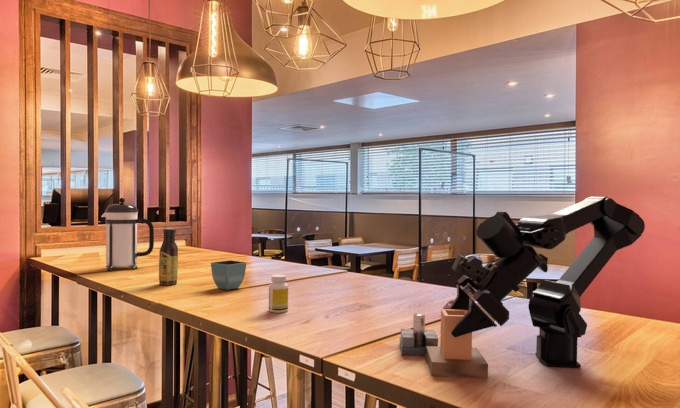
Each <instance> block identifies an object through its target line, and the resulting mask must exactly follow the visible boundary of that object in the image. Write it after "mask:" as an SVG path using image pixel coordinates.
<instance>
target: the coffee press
mask: <svg viewBox="0 0 680 408" xmlns="http://www.w3.org/2000/svg"><path fill="white" fill-rule="evenodd" d="M125 201H126V199H125V198H123V197H120V198H119V200H118V202H119V203H112V204H109V205H107V207H106V209H105V210H104V213H102V215H101V218H105V222H104V223H105V264H106V266H105V267H106V268H107V269H106V270H107V272H113V270H114V269H115V268H125V267H129V268H131V269H132V270H133V271H134V270H138V269H139V268H138V267H139V266H138V265H137V263H138V258H139V257H145V256H148V255H150V254H151V253H152V252H153V249H154V244H155V237H154V236H155V230H154V225H153V223H152V222H151V221H150V220H149V219H146V218H138V213H139V209H138V208H137V206H136V205H134V204H130V203H125ZM139 223H142V224H146V225H147V226H148V230H149V232H148V236H149V237H148V241H149V242H148V245H149V246H148V248H147V250H146V251H142V252H138V224H139Z"/></svg>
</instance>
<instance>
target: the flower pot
mask: <svg viewBox="0 0 680 408" xmlns="http://www.w3.org/2000/svg"><path fill="white" fill-rule="evenodd" d="M210 268H211V275H212V279H213V282H214V284H215V285H216V287H217V288H218V289H222V290H226V291H229V290H234V289H239V288H240V287H241V285H242V284H243V281H244V278H245V275H246V268H247V262H245V261H239V260H232V259H231V260H222V261H221V260H220V261H215V262H213V261H212V262H210Z"/></svg>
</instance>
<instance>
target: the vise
mask: <svg viewBox="0 0 680 408" xmlns="http://www.w3.org/2000/svg"><path fill="white" fill-rule="evenodd" d="M412 317H413V322H412V324H413V328H400V337H399V348H400V353H401V356H419V357H420V356H423V357H424V356H425V357H426V346H439V337H438V335H437V333H436V331H435V329H426V315H425V314H424V313H421V312H419V313H418V312H417V313H413V316H412Z"/></svg>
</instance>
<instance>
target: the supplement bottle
mask: <svg viewBox="0 0 680 408" xmlns="http://www.w3.org/2000/svg"><path fill="white" fill-rule="evenodd" d="M286 280H287V275H285V274H274V275H271V283H269V284H268V311H269V312H270V313H275V314H276V313H277V314H278V313H279V314H280V313H286V312H287V311H288V310H289V284H288V283H286Z"/></svg>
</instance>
